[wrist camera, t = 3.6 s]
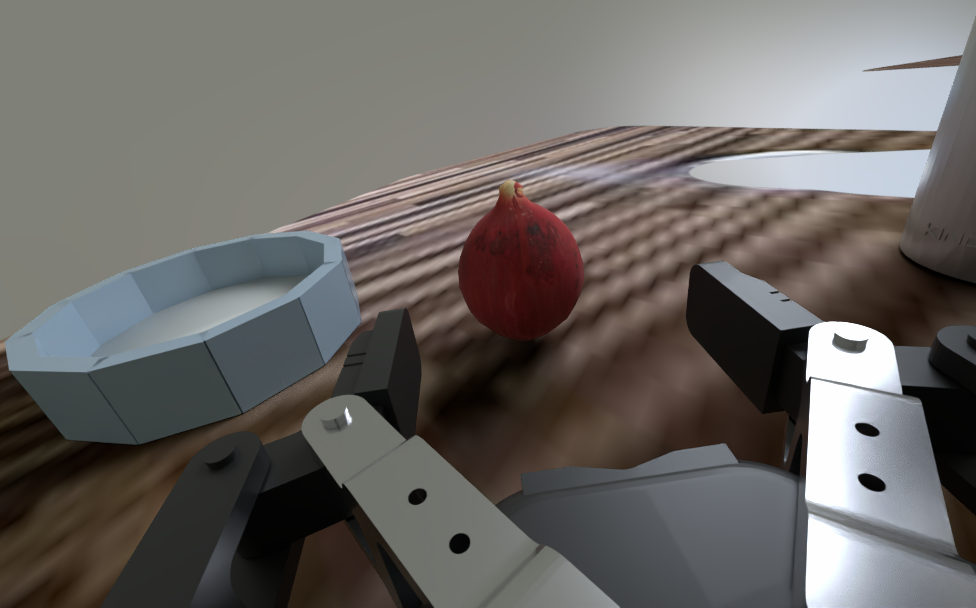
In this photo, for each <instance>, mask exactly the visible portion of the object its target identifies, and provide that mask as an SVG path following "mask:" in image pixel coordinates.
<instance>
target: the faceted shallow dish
mask: <svg viewBox="0 0 976 608" xmlns="http://www.w3.org/2000/svg"><path fill="white" fill-rule="evenodd" d="M360 323H361V315H360V309H359V302H358V296H357V291H356V288H355V285H354V282H353V279H352V276H351V272H350V269H349V266H348V263H347V260H346V256H345V253H344V250H343V247H342V244H341V241H340V239H339V238H335V237H331V236H327V235H323V234H319V233H315V232H311V231H297V232H283V233H268V234H257V235H251V236H247V237H242V238H237V239H233V240H228V241H224V242H219V243H214V244H210V245H205V246H201V247H197V248H193V249H189V250H186V251H183V252H180V253H177V254H174V255H171V256H168V257H165V258H162V259H159V260H156V261H153V262H150V263H147V264H144V265H141V266H138V267H135V268H132V269H129V270H126V271H123V272H120V273H118V274H116V275H114V276H112V277H110V278H108V279H106V280H104V281H101V282H99V283H97V284H95V285H93V286H91V287H89V288H87V289H85V290H83V291H80V292H78V293H76V294H74V295H72V296H70V297H68V298H65V299H63V300H61V301H59V302H57V303H55V304H54V305H51V306H50V307H49V308H48V309H46V310H45V311H44V312H42V313H41V314H40V315H39V316H37V317H36V318H35V319H33V320H32V321H31V322H30V323H28V324H27V325H26V326H24V327H23V328H22V329H21V330H19V331H18V332H17V333H15V334H14V335H13V336H12V337H10V338H9V339H8V340H6V342H5V346H6V352H7V358H8V365H9V370H10V372H11V373H12V374H13V375H14V376H15V378H16V379H17V380H18V381H19V383H20V384H21V385H22V386H23V387H24V389H25V390H26V391H27V392H28V394H29V395H30V396H31V397H32V398H33V400H34V401H35V402H36V403H37V404H38V406H39V407H40V408H41V409H42V411H43V412H44V413H45V414H46V415H47V417H48V418H49V419H50V420H51V422H52V423H53V424H54V425H55V426H56V428H57V429H58V430H59V431H60V433H61V434H62V435H63V436H64V437H65V439H67V440H78V441H92V442H106V443H120V444H134V445H138V444H143V443H146V442H150V441H153V440H156V439H160V438H163V437H166V436H170V435H173V434H176V433H180V432H183V431H186V430H190V429H193V428H196V427H200V426H203V425H206V424H210V423H213V422H216V421H220V420H223V419H226V418H230V417H233V416H236V415H239V414H242V412H243V413H244V412H246V411H248V410H249V409H251V408H253V407H255V406H256V405H258V404H260V403H261V402H263V401H265V400H266V399H268V398H270V397H271V396H273V395H275V394H277V393H278V392H280V391H282V390H283V389H285V388H287V387H288V386H290V385H292V384H293V383H295V382H297V381H299V380H300V379H302V378H304V377H305V376H307V375H309V374H310V373H312V372H314V371H316V370H317V369H319V368H321V367H322V366H324V364H326V363H327V362H328V361H329V360H330V358H331V357H332V356H333V355H334V354H335V352H336V351H337V350H338V349H339V348H340V346H341V345H342V344H343V343H344V342H345V341H346V339H347V338H348V337H349V336H350V335H351V333H352V332H353V331H354V330H355V329H356V327H357V326H358V325H359V324H360Z"/></svg>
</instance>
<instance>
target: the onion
mask: <svg viewBox="0 0 976 608" xmlns="http://www.w3.org/2000/svg"><path fill="white" fill-rule="evenodd" d="M522 189H523V187H522V185H520V184H519V183H517V182H515V181H512V180H507V181H506V182H505V183H504V184H503V185H501V186H500V187H499V194H500V196H499V198H498V201H497V203H496V206H495V207H494V208H493V209H492V210H491V211H490V212H489V213H487V214H486V215H485V216H484V217H483V218H482V219H481V220H480V221H479V222H478V223H477V224H476V225H475V227H474V228H473V229H472V231H471V233H470V235H469V237H468V238H467V240H466V243H465V245H464V248H463V250H462V253H461V256H460V261H459V270H458V275H459V287H460V290H461V292H462V294H463V297H464V299H465V302H466V304H467V306H468V308H469V310H470V311H471V313H472V314H473V315H474V316H475V317H476V319H477V320H478V321H479V322H480V323H481V324H483V325H484V326H486V327H488V328H489V329H491V330H492V331H494V332H495V333H497V334H498V335H500V336H503V337H506V338H510V339H514V340H518V341H523V342H527V341H531V340H533V339H535V338H538V337H540V336H543V335H545V334H547V333H548V332H550V331H551V330H553V329H554V328H556V327H557V326H558V325H560V324H561V323H562V322H563V321H564V320H566V319H567V318H568V316H569V314H570V313H571V311H572V310H573V308H574V306H575V305H576V302H577V300H578V298H579V296H580V293H581V289H582V285H583V281H584V270H583V261H582V258H581V255H580V252H579V249H578V246H577V243H576V240H575V239H574V237H573V235H572V233H571V232H570V230H569V229H568V228H567V226H566V225H565V224H564V223H563V222H562V221H561V220H560V219H559V218H558V217H557V216H555V215H554V214H553V213H551V212H550V211H548V210H547V209H545V208H543V207H541V206H539V205H537V204H535V203H533V202H530V201H529V200H528V199H527V197H526V196H525V195H524V194H523V193H522Z"/></svg>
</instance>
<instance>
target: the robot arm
mask: <svg viewBox="0 0 976 608" xmlns="http://www.w3.org/2000/svg"><path fill="white" fill-rule="evenodd" d="M900 249H901V250H902V252H903V253H904V254H905V255H906V256H907V257H909V258H910V259H912V260H913V261H915V262H916V263H918V264H920V265H923V266H925V267H927V268H929V269H931V270H934V271H936V272H939V273H942V274H945V275H948V276H951V277H954V278H957V279H961V280H965V281H969V282H973V283H976V17H975V20H974V23H973V26H972V29H971V32H970V35H969V38H968V41H967V44H966V47H965V50H964V53H963V56H962V59H961V62H960V65H959V68H958V70H957V73H956V77H955V80H954V82H953V86H952V88H951V91H950V94H949V97H948V101H947V104H946V106H945V110H944V112H943V115H942V118H941V121H940V124H939V127H938V130H937V133H936V136H935V139H934V142H933V145H932V148H931V151H930V154H929V158H928V160H927V163H926V166H925V169H924V172H923V175H922V177H921V180H920V183H919V186H918V189H917V192H916V195H915V198H914V201H913V204H912V207H911V210H910V213H909V216H908V219H907V222H906V225H905V228H904V231H903V234H902V237H901V240H900ZM686 320H687V325H688V328H689V331H690V333H691V334H692V336H693V337H694V338H695V339H696V340H697V341H698V342H699V344H700V345H701V346H702V347H703V348H704V349H705V350H706V351H707V353H708V354H709V355H710V356H711V357H712V358H713V359H714V360H715V362H716V363H717V364H718V365H719V366H720V367H721V368H722V369H723V370H724V372H725V373H726V374H727V375H728V376H729V377H730V378H731V379H732V381H733V382H734V383H735V384H736V385H737V386H738V387H739V388H740V390H741V391H742V392H743V393H744V394H745V395H746V396H747V397H748V399H749V400H750V401H751V402H752V403H753V404H754V405H755V406H756V407H757V409H758V410H759V411H760V412H761V413H762V414H766V413H772V412H779V411H786V412H787V413H788V417H787V421H786V425H785V433H784V442H783V451H782V460H781V469H780V468H776V467H773V466H770V465H766V464H762V463H758V462H752V461H746V460H737V459H736V458H735V457H734V455H733V454H732V452H731V451H730V450H729V448H728V447H727V446H726V444H718V445H712V446H705V447H698V448H692V449H685V450H678V451H673V452H671V453H669V454H666V455H664V456H661V457H659V458H656V459H654V460H651V461H649V462H646V463H644V464H641V465H639V466H636V467H634V468H631V469H627V470H617V469H602V468H586V467H564V468H557V469H551V470H544V471H537V472H530V473H524V474H521V481H522V488H523V490H522V491H519V492H517V493H515V494H513V495H511V496H509V497H507V498H505V499H503V500H502V501H501V502H499V503H498V504H496V505H495V506H494V505H493V504H492V503H491V502H490V501H489V500H488V499H487V498H486V497H485V496H484V495H482V494H481V493H480V492H479V491H478V490H477V489H476V488H475V487H474V486H473V485H472V484H471V483H469V482H468V481H467V480H466V479H465V478H464V477H463V476H462V475H461V474H460V473H459V472H458V471H456V470H455V469H454V468H453V467H452V466H451V465H450V464H449V463H448V462H447V461H446V460H445V459H444V458H442V457H441V456H440V455H439V454H438V453H437V452H436V451H435V450H434V449H433V448H432V447H431V446H429V445H428V444H427V443H426V442H425V441H424V440H423V439H422V438H420V437H419V436H417V435H415V428H416V419H417V410H418V401H419V392H420V383H421V360H420V355H419V351H418V347H417V343H416V339H415V335H414V331H413V328H412V324H411V320H410V316H409V313H408V310H407V309H406V308H402V309H396V310H389V311H383V312H379V314H378V317H377V320H376V323H375V327H374V330H372V331H366V332H362V333H361V334H360V335H359V336H358V337H357V339H356V340H355V341H354V342H353V343H352V344H351V346H350V349H349V352H348V354H347V358H346V360H345V362H344V365H343V366H344V368H342V370H341V373H340V375H339V378H338V381H337V383H336V386H335V388H334V391H333V394H332V396H331V399H328V400H326V401H324V402H322V403H321V404H319V405H318V406H316V407H315V408H314V409H313V410H311V411H310V412H309V414H308V415H307V416H306V417H305V419H304V421H303V423H302V430H301V431H299V432H297V433H295V434H292V435H290V436H287V437H284V438H282V439H279V440H276V441H274V442H271V443H268V444H266V445H263V444H262V442H261V440H260V439H259V437H258V436H257V435H256V434H254V433H252V432H236V433H232V434H229V435H226V436H223V437H221V438H219V439H217V440H215V441H213V442H211V443H210V444H208V445H207V446H205V447H204V448H203V449H201V450H200V451H199V452H198V453H197V454H196V455H195V456H194V457H193V458H192V459H191V460H190V462H189V463H188V464H187V466H186V468H185V469H184V471H183V473H182V474H181V476H180V478H179V479H178V481H177V482H176V484H175V486H174V487H173V489H172V491H171V492H170V494H169V496H168V497H167V499H166V500H165V502H164V504H163V505H162V507H161V509H160V510H159V512H158V514H157V515H156V517H155V518H154V520H153V522H152V523H151V525H150V527H149V528H148V530H147V532H146V533H145V535H144V536H143V538H142V540H141V541H140V543H139V545H138V546H137V548H136V549H135V551H134V553H133V554H132V556H131V558H130V559H129V561H128V563H127V564H126V566H125V567H124V569H123V571H122V572H121V574H120V576H119V577H118V579H117V581H116V582H115V584H114V585H113V587H112V589H111V590H110V592H109V594H108V595H107V597H106V599H105V600H104V602H103V603H102V605H101V607H100V608H287V606H288V602H289V598H290V594H291V590H292V586H293V583H294V579H295V575H296V571H297V567H298V563H299V560H300V556H301V552H302V548H303V544H304V540H305V537H306V536H308V535H311V534H313V533H315V532H317V531H320V530H322V529H324V528H326V527H329V526H331V525H333V524H335V523H338V522H340V521H342V520H343V521H344V523H345V524H346V526H347V527H348V529H349V530H350V532H351V534H352V535H353V537H354V538H355V540H356V541H357V543H358V544H359V546H360V547H361V549H362V550H363V552H364V553H365V555H366V556H367V558H368V559H369V561H370V563H371V564H372V566H373V567H374V569H375V570H376V572H377V573H378V575H379V576H380V578H381V580H382V581H383V583H384V585H385V586H386V588H387V590H388V592H389V594H390V596H391V597H392V599H393V601H394V603H395V605H396V606H397V608H976V565H975V564H973V563H971V562H969V561H967V560H965V559H963V558H961V557H960V556H959V554H958V553H957V551H956V548H955V544H954V540H953V536H952V532H951V527H950V523H949V519H948V514H947V510H946V506H945V501H944V497H943V493H942V489H941V484H942V485H943V486H944V487H945V488H946V489H947V490H948V491H949V492H950V493H951V494H952V495H954V496H955V497H956V498H957V499H958V500H959V501H960V502H961V503H962V504H963V505H964V506H966V507H967V508H968V509H969V510H970V511H971V512H972V513H973V514H974V515H975V516H976V326H965V325H958V326H949V327H945V328H942V329H941V330H939V331H938V333H937V335H936V337H935V340H934V342H933V344H932V347H909V346H893V344H892V342H891V341H890V340H889V339H888V338H887V337H886V336H884V335H883V334H881V333H879V332H877V331H875V330H873V329H870V328H867V327H864V326H861V325H857V324H852V323H845V322H826V323H825V322H823V321H822V320H820V319H819V318H817V317H816V316H814V315H813V314H811V313H810V312H808V311H807V310H806V309H804V308H803V307H801V306H800V305H798V304H797V303H795V302H794V301H790V299H789V298H788V297H787V296H785V295H784V294H782V293H778V290H776V289H775V288H773V287H772V286H770V285H769V284H768V283H766V282H765V281H762V280H759V279H756V278H753V277H751V276H748V275H744V274H742V273H741V272H740V271H738V270H737V269H735V268H734V267H732V266H731V265H730V264H728V263H727V262H725V261H716V262H709V263H702V264H696V265H694V266H693V267H692V268H691V271H690V278H689V288H688V299H687V309H686ZM940 483H941V484H940Z"/></svg>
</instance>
